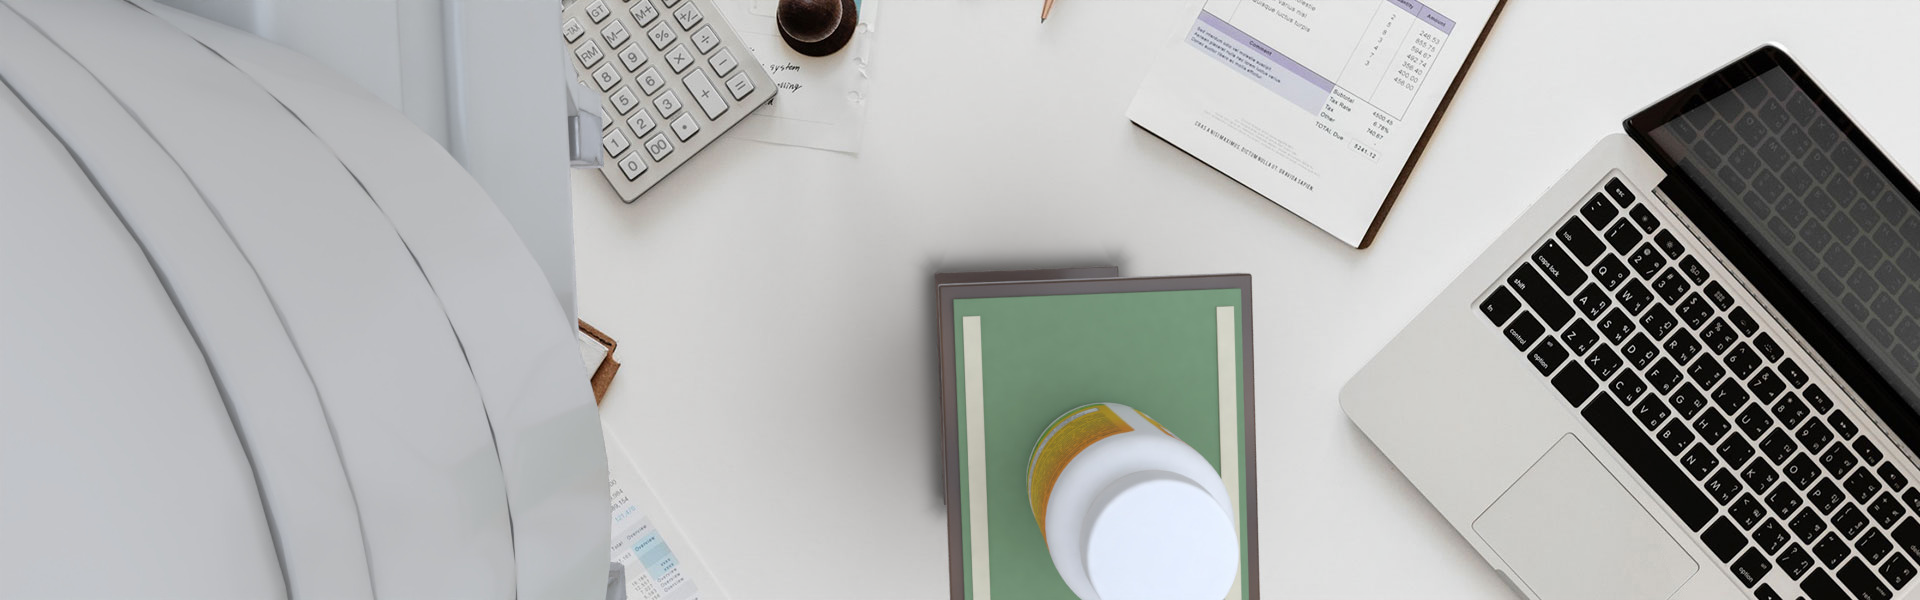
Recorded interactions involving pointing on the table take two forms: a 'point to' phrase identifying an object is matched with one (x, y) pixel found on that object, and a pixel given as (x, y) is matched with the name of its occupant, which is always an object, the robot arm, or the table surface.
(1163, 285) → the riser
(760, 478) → the table surface
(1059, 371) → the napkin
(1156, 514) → the supplement bottle
